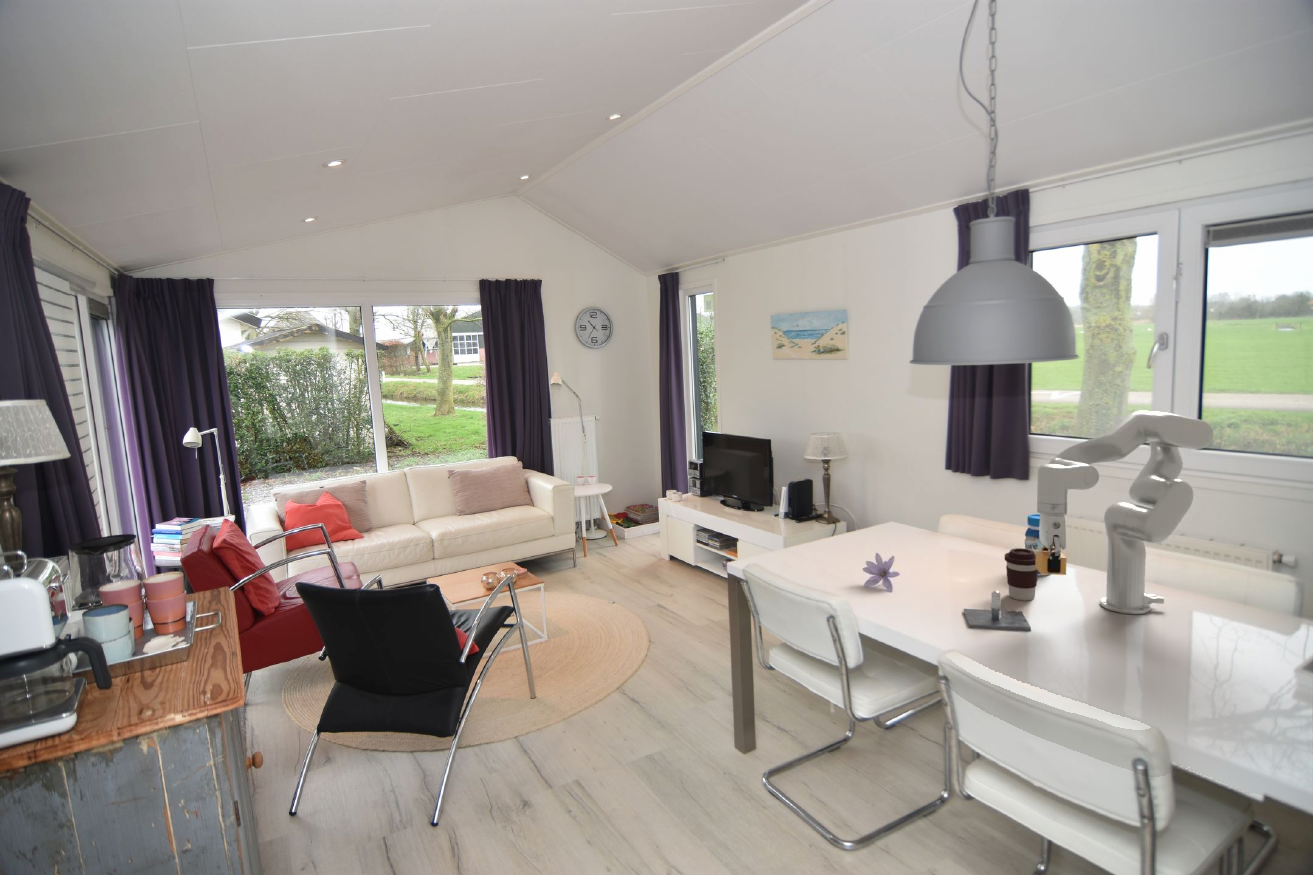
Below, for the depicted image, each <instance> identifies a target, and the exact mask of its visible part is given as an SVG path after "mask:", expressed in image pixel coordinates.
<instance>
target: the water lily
mask: <svg viewBox="0 0 1313 875" xmlns="http://www.w3.org/2000/svg"><path fill="white" fill-rule="evenodd" d="M874 559H875V562H876V563H875V562H873V561H870V560H867V561H865V564H866V567H865V566H864V567H863V568H862V571H863V572H864V573H866V574H869V575H870V577H868V579H867V580H866V581H865V582H864V584H863V587H868V588H872V587H874V586H877V585H878V584H879V583H880V582H881V581H882V582H881V584H882V587H883V588H885V589H886V590H887V591H888V592H889V593H893V584H892V581H891V578H896V577H898V576H900V575H901V574H900V572H899V571H890V570H891V568H892V567H893V566H894V562H895V555H892V556H891V557H889V558H888V560H885V561H884V560H883V558H882V556H881V555H880V554H879V553H878V552H876V553H875V555H874Z"/></svg>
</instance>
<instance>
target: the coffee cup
mask: <svg viewBox="0 0 1313 875" xmlns="http://www.w3.org/2000/svg"><path fill="white" fill-rule="evenodd" d="M1004 561H1005V562H1006V567H1005V568H1006V579H1007V580H1006V583H1007V585H1008V595H1009V597H1010V598H1011V599H1014V600H1017V601H1023V602H1024V601H1026V602H1027V601H1032V600H1034V599H1035V597H1036V587H1037V583H1038V576H1039V575H1038V570H1037V568H1036V567H1035V564H1036V554H1035V553H1034V551H1032V550H1029V549H1025V548H1017V547H1016V548H1012V549H1010V551H1009V552H1006V553H1004Z"/></svg>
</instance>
